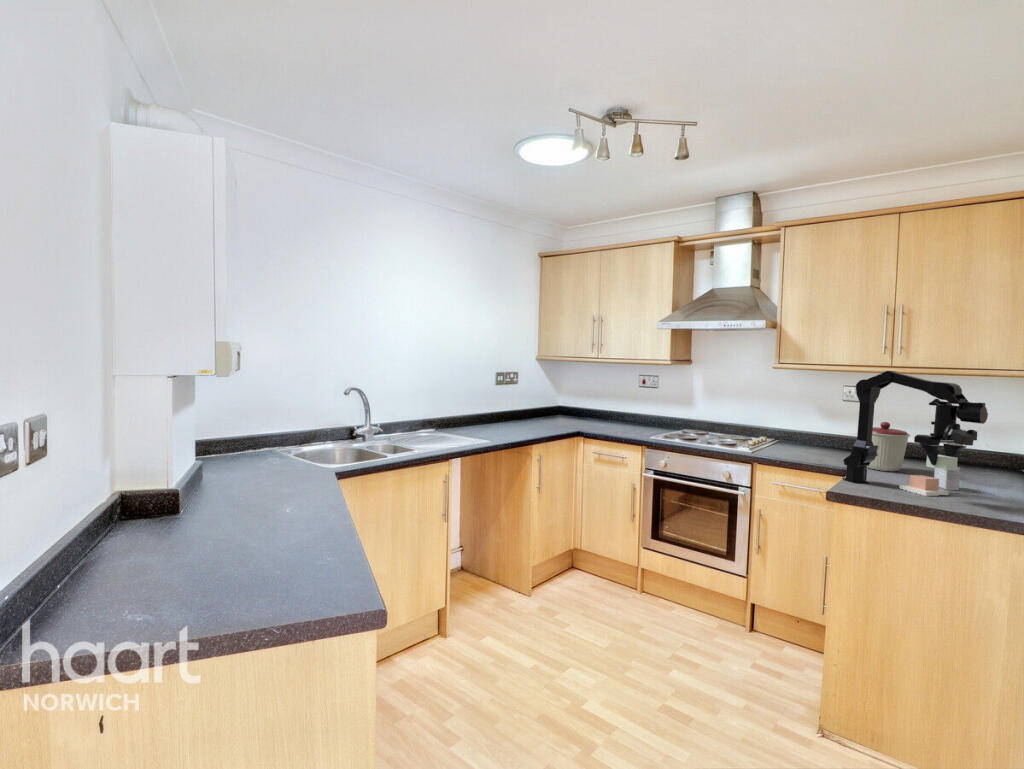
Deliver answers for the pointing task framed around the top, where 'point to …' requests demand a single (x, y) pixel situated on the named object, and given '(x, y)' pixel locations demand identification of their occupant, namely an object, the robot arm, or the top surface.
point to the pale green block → (943, 463)
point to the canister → (888, 448)
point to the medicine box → (948, 478)
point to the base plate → (924, 491)
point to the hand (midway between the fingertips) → (941, 464)
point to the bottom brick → (923, 482)
